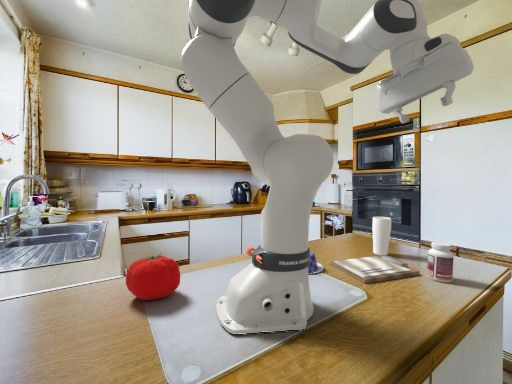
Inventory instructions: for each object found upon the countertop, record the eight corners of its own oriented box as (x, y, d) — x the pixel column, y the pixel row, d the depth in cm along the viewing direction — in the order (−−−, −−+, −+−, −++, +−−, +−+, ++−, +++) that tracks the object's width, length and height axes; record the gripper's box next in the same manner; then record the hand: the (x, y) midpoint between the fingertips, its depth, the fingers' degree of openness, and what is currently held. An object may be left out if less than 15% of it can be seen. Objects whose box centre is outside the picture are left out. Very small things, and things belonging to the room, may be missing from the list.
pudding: (293, 276, 73) (294, 259, 73) (283, 262, 85) (284, 248, 85) (330, 274, 75) (330, 258, 74) (315, 261, 87) (315, 247, 86)
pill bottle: (455, 280, 71) (457, 244, 71) (447, 285, 68) (450, 247, 67) (431, 273, 76) (433, 240, 76) (423, 277, 73) (425, 242, 72)
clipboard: (364, 283, 68) (364, 275, 68) (330, 264, 83) (330, 257, 83) (419, 274, 75) (419, 267, 75) (378, 258, 90) (378, 252, 90)
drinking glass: (390, 253, 96) (391, 217, 96) (389, 258, 91) (391, 219, 90) (372, 250, 100) (373, 215, 99) (370, 254, 94) (371, 217, 94)
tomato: (176, 305, 55) (176, 262, 54) (118, 309, 53) (117, 265, 52) (183, 284, 66) (183, 248, 65) (135, 287, 64) (134, 250, 63)
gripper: (367, 83, 66) (377, 130, 65) (455, 27, 49) (471, 89, 47) (381, 86, 69) (391, 131, 68) (468, 35, 52) (483, 93, 50)
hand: (424, 114), depth 57 cm, fingers open, 8 cm apart
